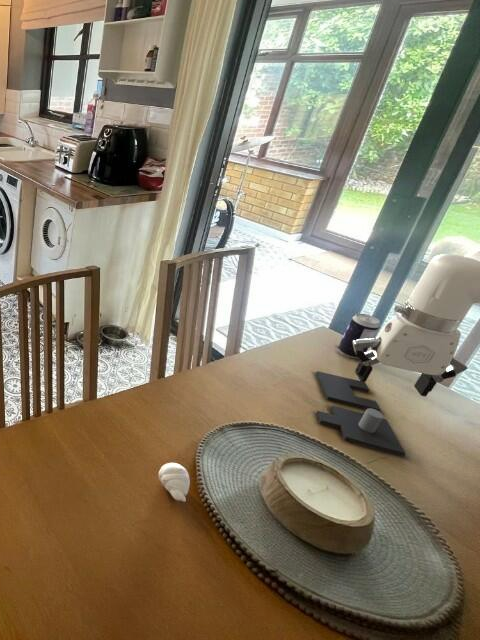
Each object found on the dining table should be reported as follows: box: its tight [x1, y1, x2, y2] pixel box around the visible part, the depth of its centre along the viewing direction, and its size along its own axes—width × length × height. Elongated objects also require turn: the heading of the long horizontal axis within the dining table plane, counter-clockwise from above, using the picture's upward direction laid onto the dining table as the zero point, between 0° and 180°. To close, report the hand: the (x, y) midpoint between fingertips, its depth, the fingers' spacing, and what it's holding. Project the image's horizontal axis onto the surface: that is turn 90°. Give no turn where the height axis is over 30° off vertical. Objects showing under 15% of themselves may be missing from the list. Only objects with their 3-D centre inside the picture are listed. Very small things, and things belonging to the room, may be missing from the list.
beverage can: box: [337, 313, 381, 359], centre depth 113 cm, size 6×6×12 cm
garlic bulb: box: [158, 462, 191, 503], centre depth 78 cm, size 6×6×5 cm
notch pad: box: [315, 370, 381, 412], centre depth 102 cm, size 10×10×1 cm
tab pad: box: [315, 404, 406, 457], centre depth 92 cm, size 14×10×6 cm
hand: (389, 384), depth 86 cm, fingers open, 9 cm apart
